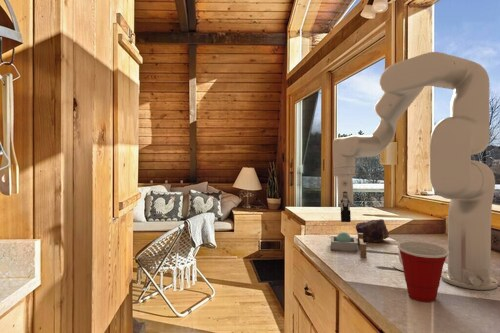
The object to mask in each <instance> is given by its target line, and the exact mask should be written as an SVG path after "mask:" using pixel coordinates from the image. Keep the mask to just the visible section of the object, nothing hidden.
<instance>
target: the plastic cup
mask: <svg viewBox="0 0 500 333" xmlns="http://www.w3.org/2000/svg"><path fill="white" fill-rule="evenodd" d="M397 248H398V250H399V251H400V254H401V259H402V263H403V269H404V271H403V274H404V280H405V284H406V289H407V294H408V297H409V298H410V299H412V300H414V301H417V302H423V303H432V302H435V301H436V299H437V296H438V291H439V287H440V283H441V279H442V278H441V274H442V272H443V268H444V265H445V261H446V260H447V258H448V255H449V250H448V248H447V247H444V246H442V245H440V244H437V243H433V242H428V241H421V240H406V241H401V242H399V243H398V244H397Z"/></svg>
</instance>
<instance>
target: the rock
mask: <svg viewBox="0 0 500 333" xmlns="http://www.w3.org/2000/svg"><path fill="white" fill-rule="evenodd" d="M387 228H388V227H387V226H386V223H385V220H384V219H382V218H380V219H372V220H368V221H363V222H359V223H356V225H355V230H356V233H357V235H358V233H363V242H364V241H365V242H368V243H373V244H375V243H378V242H382V241H384V240H386V239H389V237H390V236H389V235H390V234H389V230H388V229H387Z"/></svg>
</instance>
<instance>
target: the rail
mask: <svg viewBox="0 0 500 333" xmlns="http://www.w3.org/2000/svg"><path fill="white" fill-rule="evenodd" d="M357 243H358V246H357V247H358V248H359V255H360V256H359V257H360V258H361V259H367V243H366V242H365V243H364V241H363V233H358V234H357Z"/></svg>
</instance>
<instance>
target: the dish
mask: <svg viewBox="0 0 500 333" xmlns="http://www.w3.org/2000/svg"><path fill="white" fill-rule="evenodd" d="M350 237H351V236H350ZM358 247H359V246H358V238H357V237H356V236H355V237H354V236H352V237H351V242H338V241H337V236H333V235H332V236H331V237H330V251H336V252H337V251H340V252H353V253H356V252H357V253H358Z"/></svg>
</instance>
